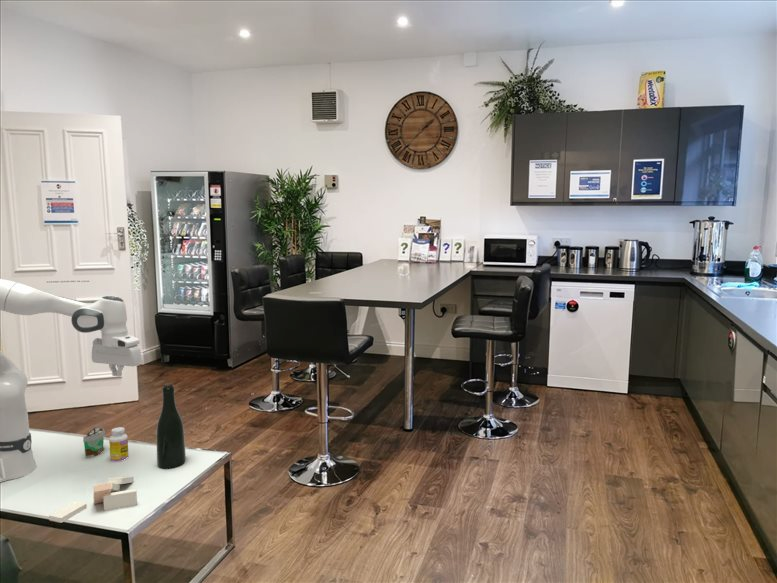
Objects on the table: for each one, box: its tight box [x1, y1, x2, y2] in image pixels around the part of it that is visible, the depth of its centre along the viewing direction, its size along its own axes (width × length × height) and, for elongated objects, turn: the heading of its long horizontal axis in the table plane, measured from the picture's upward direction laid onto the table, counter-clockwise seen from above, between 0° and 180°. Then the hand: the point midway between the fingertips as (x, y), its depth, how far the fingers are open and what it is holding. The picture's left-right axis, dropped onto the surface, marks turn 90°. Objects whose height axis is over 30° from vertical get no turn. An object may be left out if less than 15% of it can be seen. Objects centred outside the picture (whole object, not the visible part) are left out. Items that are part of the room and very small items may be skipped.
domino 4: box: [106, 476, 135, 485], centre depth 208 cm, size 2×5×10 cm
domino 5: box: [103, 488, 138, 511], centre depth 194 cm, size 2×5×10 cm
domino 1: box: [48, 500, 88, 524], centre depth 190 cm, size 2×5×10 cm
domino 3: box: [96, 482, 121, 493], centre depth 201 cm, size 2×5×10 cm
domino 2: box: [93, 483, 112, 505], centre depth 195 cm, size 2×5×10 cm
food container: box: [82, 425, 106, 459], centre depth 236 cm, size 12×6×10 cm, turn 9°
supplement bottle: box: [108, 426, 129, 463], centre depth 231 cm, size 7×7×13 cm
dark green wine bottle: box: [155, 382, 187, 470], centre depth 225 cm, size 10×10×33 cm
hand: (117, 375), depth 218 cm, fingers closed
